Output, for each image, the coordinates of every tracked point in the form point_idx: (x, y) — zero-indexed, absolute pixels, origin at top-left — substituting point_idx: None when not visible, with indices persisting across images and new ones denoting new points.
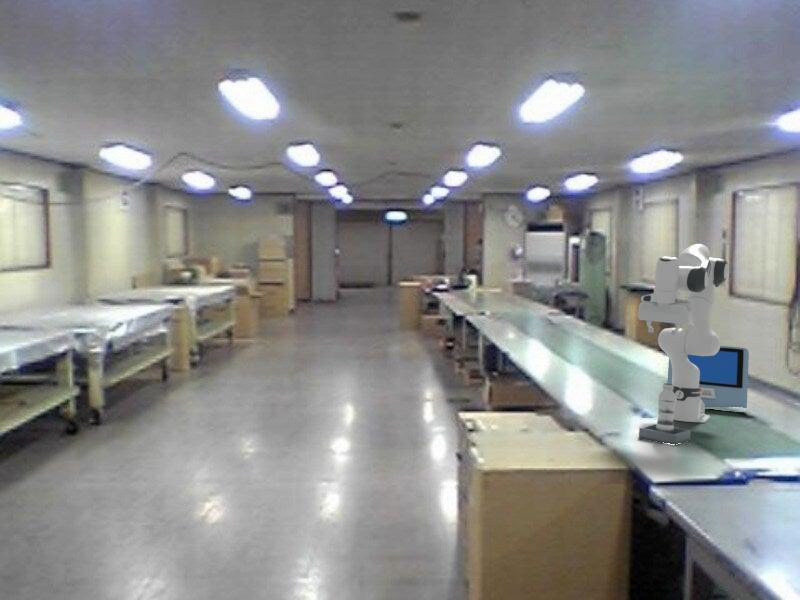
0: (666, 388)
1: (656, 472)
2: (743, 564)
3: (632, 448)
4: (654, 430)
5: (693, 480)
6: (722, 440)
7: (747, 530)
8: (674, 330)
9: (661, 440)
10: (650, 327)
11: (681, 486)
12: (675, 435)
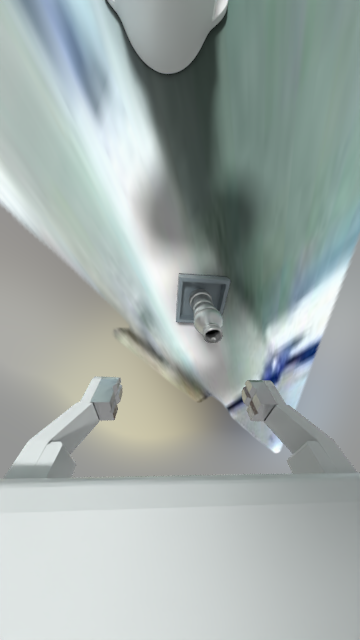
0: (210, 339)
1: (222, 394)
2: (267, 447)
3: (187, 355)
4: (193, 320)
5: None
6: (267, 230)
7: None
8: (266, 423)
9: None
10: (94, 420)
11: (240, 405)
12: None
